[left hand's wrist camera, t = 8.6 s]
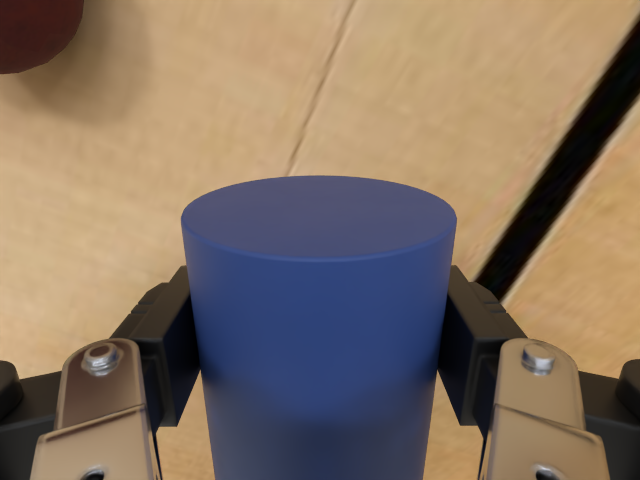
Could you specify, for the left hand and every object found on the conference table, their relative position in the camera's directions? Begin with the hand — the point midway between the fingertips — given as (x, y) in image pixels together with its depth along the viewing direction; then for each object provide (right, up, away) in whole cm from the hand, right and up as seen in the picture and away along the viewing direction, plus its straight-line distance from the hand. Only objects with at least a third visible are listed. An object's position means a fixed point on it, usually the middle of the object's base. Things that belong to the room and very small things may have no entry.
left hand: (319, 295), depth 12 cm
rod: (0, -8, +5) cm, 9 cm away
